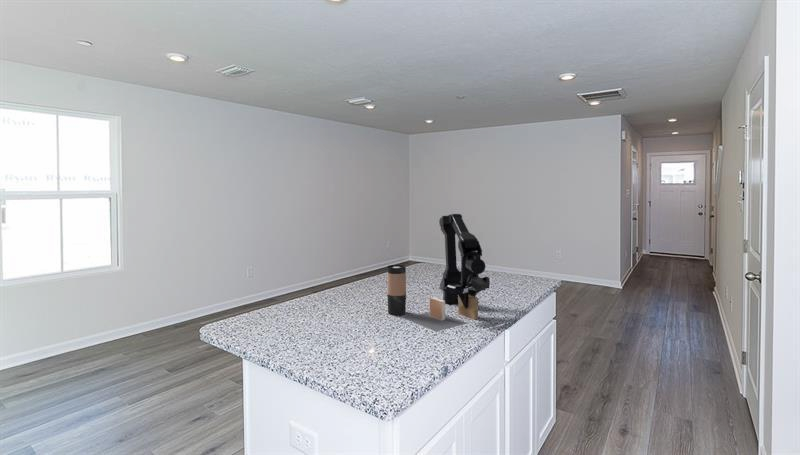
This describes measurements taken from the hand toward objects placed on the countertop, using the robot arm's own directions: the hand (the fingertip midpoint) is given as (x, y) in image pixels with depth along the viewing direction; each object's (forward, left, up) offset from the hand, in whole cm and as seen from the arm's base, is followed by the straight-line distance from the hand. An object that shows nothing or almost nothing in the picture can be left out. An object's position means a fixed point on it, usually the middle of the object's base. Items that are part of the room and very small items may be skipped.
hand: (468, 307), depth 170 cm
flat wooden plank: (0, 0, -4) cm, 4 cm away
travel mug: (-21, -20, -4) cm, 29 cm away
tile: (-6, -11, -4) cm, 13 cm away
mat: (-4, -14, -4) cm, 15 cm away
